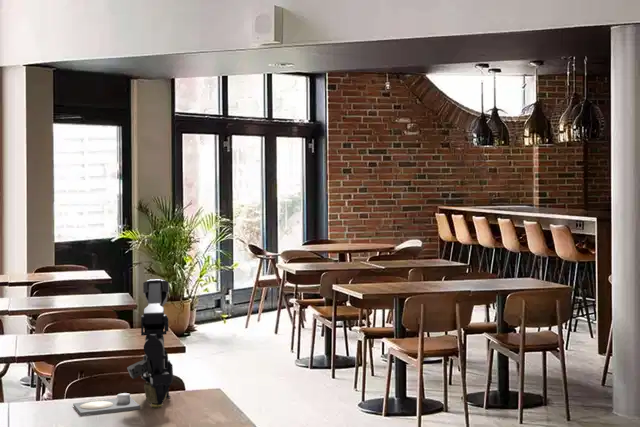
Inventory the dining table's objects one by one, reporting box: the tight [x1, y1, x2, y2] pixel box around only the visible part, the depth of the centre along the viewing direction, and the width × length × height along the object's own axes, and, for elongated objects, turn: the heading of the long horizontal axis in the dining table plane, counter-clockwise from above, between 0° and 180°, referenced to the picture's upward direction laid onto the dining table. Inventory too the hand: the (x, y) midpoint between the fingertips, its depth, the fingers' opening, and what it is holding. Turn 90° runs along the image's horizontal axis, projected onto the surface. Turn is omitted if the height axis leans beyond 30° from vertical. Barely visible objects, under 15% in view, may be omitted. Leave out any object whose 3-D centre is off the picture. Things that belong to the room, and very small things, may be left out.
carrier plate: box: [72, 392, 141, 417], centre depth 300 cm, size 18×14×4 cm
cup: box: [143, 381, 167, 410], centre depth 298 cm, size 8×7×8 cm
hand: (156, 401), depth 298 cm, fingers open, 8 cm apart
